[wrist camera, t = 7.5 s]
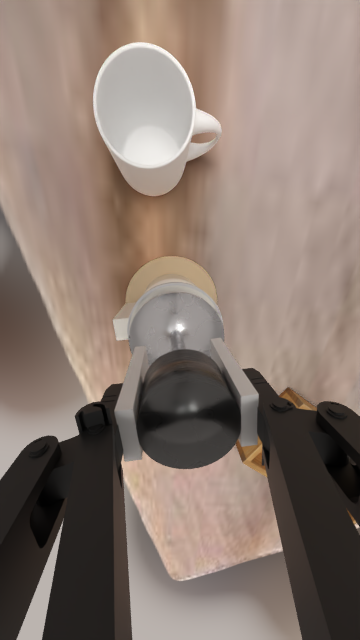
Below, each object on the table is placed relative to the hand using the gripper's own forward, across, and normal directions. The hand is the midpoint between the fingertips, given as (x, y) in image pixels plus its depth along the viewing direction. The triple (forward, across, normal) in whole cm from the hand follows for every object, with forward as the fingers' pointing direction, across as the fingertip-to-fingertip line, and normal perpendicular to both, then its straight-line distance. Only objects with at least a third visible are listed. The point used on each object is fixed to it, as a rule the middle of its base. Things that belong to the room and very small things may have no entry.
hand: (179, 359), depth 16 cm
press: (+19, 0, 0) cm, 19 cm away
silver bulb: (+5, 0, 0) cm, 5 cm away
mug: (+20, +1, +19) cm, 27 cm away
